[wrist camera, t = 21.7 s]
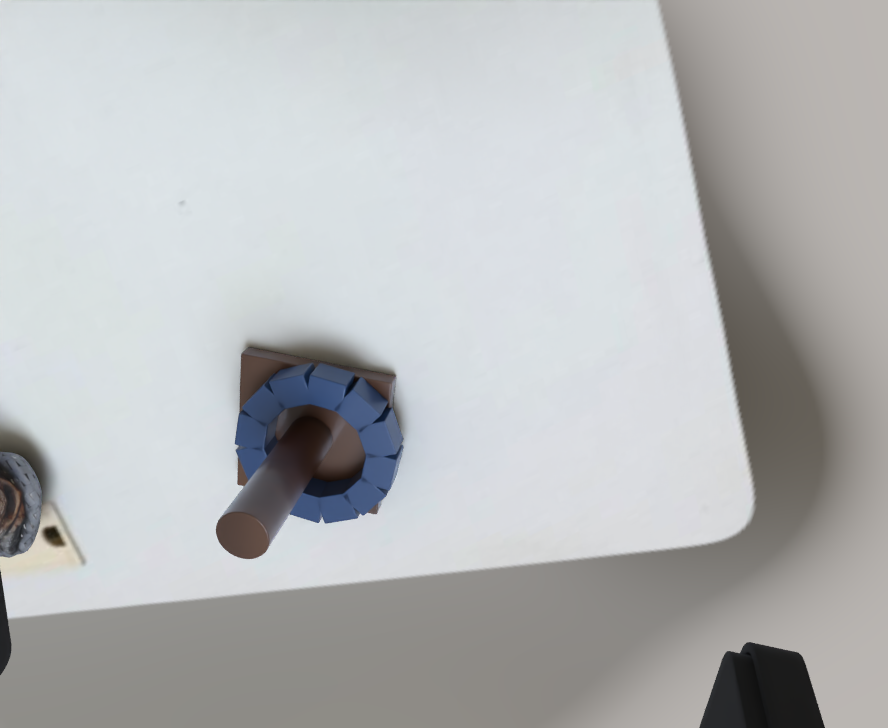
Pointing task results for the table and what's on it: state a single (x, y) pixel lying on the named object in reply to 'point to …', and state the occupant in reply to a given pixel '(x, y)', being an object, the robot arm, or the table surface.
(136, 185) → the table surface
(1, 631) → the robot arm
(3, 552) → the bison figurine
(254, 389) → the stand
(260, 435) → the ring
